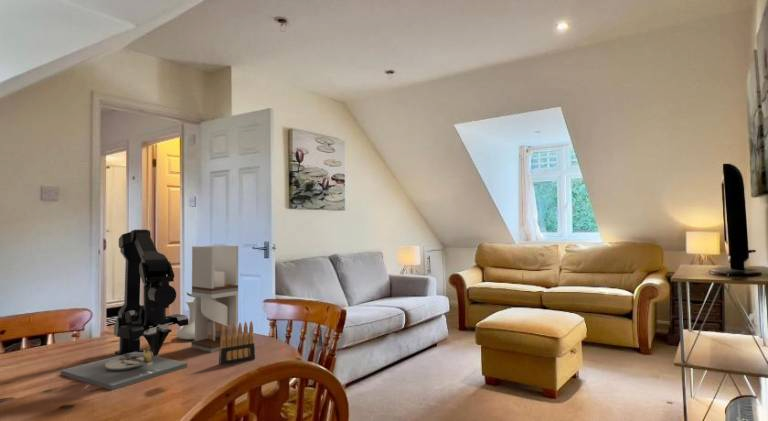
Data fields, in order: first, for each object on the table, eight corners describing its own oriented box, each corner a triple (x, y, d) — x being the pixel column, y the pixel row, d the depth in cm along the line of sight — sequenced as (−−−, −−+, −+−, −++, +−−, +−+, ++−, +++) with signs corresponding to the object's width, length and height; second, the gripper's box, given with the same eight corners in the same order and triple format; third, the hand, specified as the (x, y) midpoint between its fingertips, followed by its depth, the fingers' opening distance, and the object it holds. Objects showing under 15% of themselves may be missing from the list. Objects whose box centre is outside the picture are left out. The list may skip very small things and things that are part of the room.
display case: (191, 347, 158) (192, 246, 159) (218, 340, 167) (218, 245, 168) (211, 352, 151) (211, 247, 153) (237, 345, 160) (238, 245, 161)
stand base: (60, 374, 130) (60, 369, 130) (135, 355, 149) (135, 351, 149) (112, 390, 117) (112, 385, 117) (187, 366, 136) (187, 362, 136)
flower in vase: (176, 343, 164) (177, 273, 165) (175, 336, 174) (175, 270, 175) (215, 338, 170) (215, 271, 171) (211, 332, 180) (211, 269, 181)
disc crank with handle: (97, 368, 130) (97, 349, 130) (129, 358, 139) (129, 340, 139) (134, 374, 124) (134, 354, 124) (164, 364, 133) (164, 345, 133)
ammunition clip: (220, 365, 137) (220, 325, 137) (218, 364, 138) (219, 324, 139) (255, 359, 143) (255, 321, 144) (252, 358, 145) (253, 320, 145)
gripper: (165, 294, 144) (165, 344, 143) (105, 305, 127) (106, 361, 127) (189, 297, 138) (189, 348, 138) (130, 308, 122) (130, 366, 122)
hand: (155, 355), depth 131 cm, fingers closed
